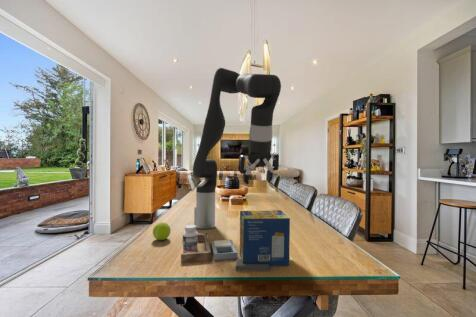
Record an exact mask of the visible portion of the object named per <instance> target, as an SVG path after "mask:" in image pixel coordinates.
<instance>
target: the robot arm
mask: <svg viewBox="0 0 476 317" xmlns="http://www.w3.org/2000/svg"><path fill="white" fill-rule="evenodd" d="M212 81H213V82H212V87H211V91H210V92H211V93H210V98H209V99H210V100H209V104H208V109H207V112H206V117H205V120H204V125H203V128H202V134H201V137H200V138H201V139H200V142H199V145H198V148H197V152H196V156H195V159H194V162H193V166H192V173H193V177H195V178H198V179H204V181H202V183H199V184H198V185H197V186H196V189H195V193H196V195H195V199H196V201H195V202H196V203H195V207H194V209H193V210H194V211H193V212H194V213H193V214H194V217H193V218H194V219H193V220H194V221H193V222H194V223H193V225H196V229H201V230H209V229H213V228H215V227H216V187H217V179H218V165H217V164H218V163H217V161H216V160H215V159H213V158H208V157H209V154H210V152H211V150H212V149H213V148H215V146H216V145H217V144H218V143H219V142H220V141H221V139H222V137H223V135H224V131H225V127H226V118H225V115H224V112H223V109H222V105H221V93H227V94H230V95H231V94H239V93H241V94H243V95H246V96H248V97H250V98H253V99H263V101H262V103H261V104H257V105H254V106H252V108H251V111H250V113H251V114H250V127H249V133H248V134H249V135H248V154H247V155H243V154H240V155H239V156H238V166H237V171H238V172H239V173H240V174H242V177H243V179H242V181H243V183H244V185H249V183H250V182H249V181H250V180H249V179H250V175H249V174H250V172H251V171H253V170H254V169H255V168H264V167H265V168H266V169H267V171H266V182H268V183H271V182H272V181H273V175H274V171H278V170H279V165H280V163H279V161H280V159H279V158H280V155H279V154H278V153H276V152H272V153H271V151H272V142H273V120H274V118H273V116H274V111H275V109H276V105H277V102H278V100H279V96H280V93H281V88H282V84H281V83H282V82H281V80H280V78H279V76H278V75H276V74H266V73H265V74H263V73H243V74H242V73H241V74H240V73H238V72H236V71H233V70H232V69H231V70H230V69H227V68H224V67H218V68H217V69H216V71H215V73H214V77H213V80H212ZM247 161H248V162H247ZM269 161H272V165H271V164H270V162H269ZM246 162H247V163H246ZM245 163H246V165H245Z"/></svg>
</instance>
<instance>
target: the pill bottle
mask: <svg viewBox="0 0 476 317" xmlns="http://www.w3.org/2000/svg"><path fill="white" fill-rule="evenodd" d="M184 227H185V228H184V232H183V234H182V250H183V253H190V252H198V248H199V246H198V245H199V244H198V242H199V241H198V234H199V233H198V231H197V227H196V225H194V224H188V225H185V226H184Z"/></svg>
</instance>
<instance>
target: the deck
mask: <svg viewBox="0 0 476 317" xmlns="http://www.w3.org/2000/svg"><path fill="white" fill-rule="evenodd" d="M210 250H211V254H212V257H213V260H214V261H218V260H219V261H220V260H230V259H231V260H233V259H234V260H235V259H239V258H238V255H239V254H238V253H239V252H238V250H237V249H236V246H235V244H234V242H233V240H232V239H227V240H226V239H224V240H211V241H210Z"/></svg>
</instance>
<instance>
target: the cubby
mask: <svg viewBox="0 0 476 317" xmlns="http://www.w3.org/2000/svg"><path fill="white" fill-rule="evenodd" d="M198 242H203V243H204V250H205V251H204V250H203V251H195V252H190V253H186V252H181V253H180V263H192V262H193V263H194V262H204V261H205V262H206V261H207V262H208V261H212V249H211V244H210V242H209V237H208V233H198Z"/></svg>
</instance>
